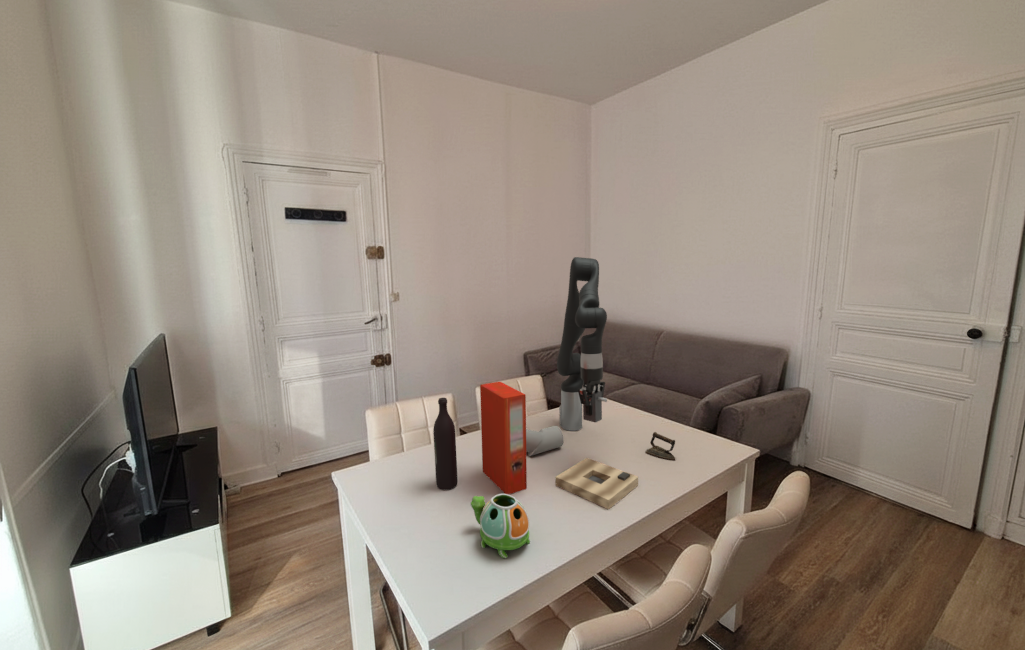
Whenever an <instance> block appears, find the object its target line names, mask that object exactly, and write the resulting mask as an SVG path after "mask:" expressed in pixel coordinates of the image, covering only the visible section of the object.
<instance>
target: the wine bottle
mask: <svg viewBox="0 0 1025 650" xmlns="http://www.w3.org/2000/svg"><path fill="white" fill-rule="evenodd" d="M437 402H438V403H437V404H438V415H437V417H436V419H435V421H434V424H433V428H432V429H433V432H432V433H433V449H434V450H433V451H434V466H435V467H434V468H435V484H436V487H437V489H438V490H441V491H449V490H453V489H455V488H456V487H457V486H458V465H457V464H458V462H457V460H458V459H457V442H456V440H457V439H456V427H455V424H454V420H453V419H452V417H451V415H450V414H449V411H448V399H447V397H439V398H438V401H437Z"/></svg>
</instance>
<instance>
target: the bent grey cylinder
mask: <svg viewBox="0 0 1025 650" xmlns="http://www.w3.org/2000/svg"><path fill="white" fill-rule="evenodd" d="M562 431H563V430H562V429H561V428H560V426H558V425H553V426H548V427H545V428H541V429H539V431H537V430H531V429H527V428H526V453H527V454H528V457H531V456H534V455H539V454H542V453H544V452H548V451H551V450H554V449H557V448H562V447H563V446H564V441H565V438H564V433H563V432H562Z"/></svg>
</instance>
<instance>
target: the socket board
mask: <svg viewBox="0 0 1025 650" xmlns="http://www.w3.org/2000/svg"><path fill="white" fill-rule="evenodd" d="M554 480H555V486H556V487H558V488H559V489H560V488H561V489H563V490H565V491H567V492H569V493H571V494H573V495H576V496H578V497H580V498H582V499H585V500H587V501H589V502H591V503H593V504H596V505H598V506H600V507H603V508H605V509H606V510H610V509H611V508H612V507H613V506H615V505H616V504H617V503H619V502H620V501H621V500H622V499H624V497H626V496H627V495H629V493H631V492H632V491H633V490H634V489H635V488H637V487H638V486H639V476H637V475H635V474H632V473H630V472H627V471H624V470H621V469H619V468H616V467H613V466H610V465H608V464H605V463H603V462H600V461H596V460H594V459H593V458H589V457H585V458H583V460H580V461H578V462H577V463H576V464H574V465H573V466H571V467H569V468H567V469H566V470H564V471H563V472H561V473H560V474H558V475H556V476H555V479H554Z"/></svg>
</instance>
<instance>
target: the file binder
mask: <svg viewBox="0 0 1025 650" xmlns="http://www.w3.org/2000/svg"><path fill="white" fill-rule="evenodd" d="M479 389H480V425H481V427H480V429H481V460H482V461H481V463H482V466H481V467H482V473H484V475H485V476H486V477H487V478H488V479H489V480H490V481H492V483H494V484H495V486H497V488H498V489H499V490H500V491H501V492H502V494H508V495H513V494H515V493H519V492H520V491H524V490H526V489H527V488H528V487H527V486H528V483H527V477H528V476H527V475H528V473H527V452H526V429H527V426H526V425H527V408H526V407H527V406H526V405H527V403H526V402H527V401H526V399H527V395H526V393H523V392H521V391H519V390H517V388H514V387H512V386H510V385H507V384H506V383H504V382H502V381H495V382H489V383H483V384H480V385H479Z"/></svg>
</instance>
